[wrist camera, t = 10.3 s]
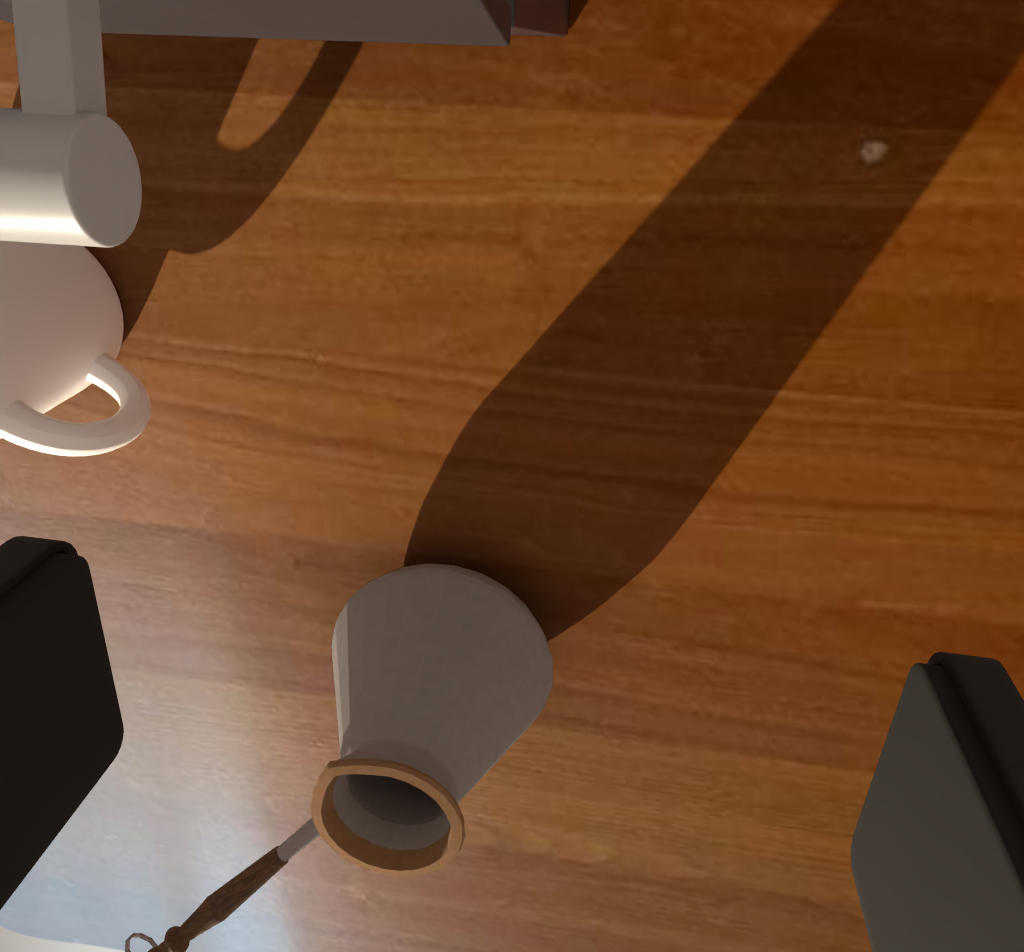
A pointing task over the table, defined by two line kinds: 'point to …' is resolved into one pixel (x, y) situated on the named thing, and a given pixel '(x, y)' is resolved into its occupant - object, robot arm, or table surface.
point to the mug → (62, 350)
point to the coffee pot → (409, 725)
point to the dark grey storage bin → (539, 17)
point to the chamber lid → (101, 141)
